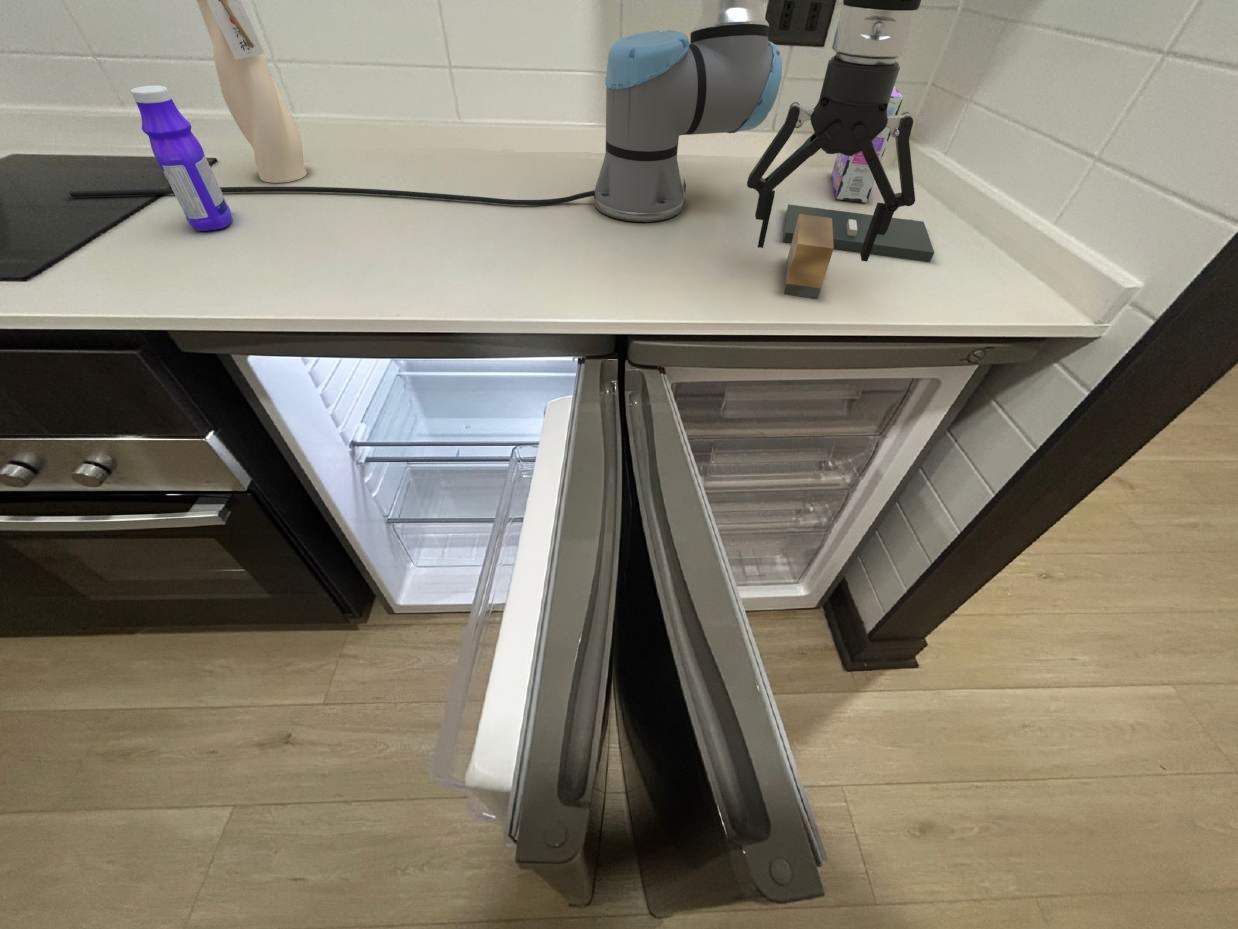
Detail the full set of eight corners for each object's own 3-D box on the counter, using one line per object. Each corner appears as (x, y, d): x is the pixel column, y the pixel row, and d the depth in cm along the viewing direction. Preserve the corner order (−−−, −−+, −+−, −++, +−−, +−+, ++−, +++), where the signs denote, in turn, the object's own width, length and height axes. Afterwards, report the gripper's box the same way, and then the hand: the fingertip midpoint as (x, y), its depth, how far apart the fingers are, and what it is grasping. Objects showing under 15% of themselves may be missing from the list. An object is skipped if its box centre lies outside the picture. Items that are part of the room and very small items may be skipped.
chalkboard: (783, 241, 87) (785, 232, 86) (786, 213, 95) (788, 204, 94) (930, 261, 83) (934, 252, 82) (920, 230, 92) (923, 221, 90)
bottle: (194, 217, 86) (126, 83, 73) (235, 212, 87) (176, 80, 75) (190, 235, 81) (116, 96, 68) (233, 230, 83) (169, 93, 70)
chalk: (855, 236, 85) (857, 229, 85) (847, 235, 86) (849, 228, 85) (854, 226, 88) (856, 219, 87) (846, 225, 88) (848, 218, 88)
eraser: (783, 294, 75) (797, 243, 70) (786, 261, 82) (799, 213, 77) (817, 299, 74) (833, 248, 69) (817, 266, 81) (832, 217, 76)
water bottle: (326, 175, 100) (260, -33, 80) (282, 189, 94) (198, -30, 74) (291, 163, 103) (218, -39, 83) (245, 176, 98) (156, -36, 78)
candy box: (867, 204, 99) (904, 96, 87) (834, 200, 100) (866, 93, 88) (860, 178, 109) (892, 77, 97) (829, 175, 109) (858, 75, 97)
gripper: (747, 53, 59) (716, 249, 74) (997, 73, 55) (911, 275, 70) (752, 43, 64) (722, 227, 79) (981, 60, 60) (904, 251, 75)
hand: (811, 250), depth 75 cm, fingers open, 13 cm apart
